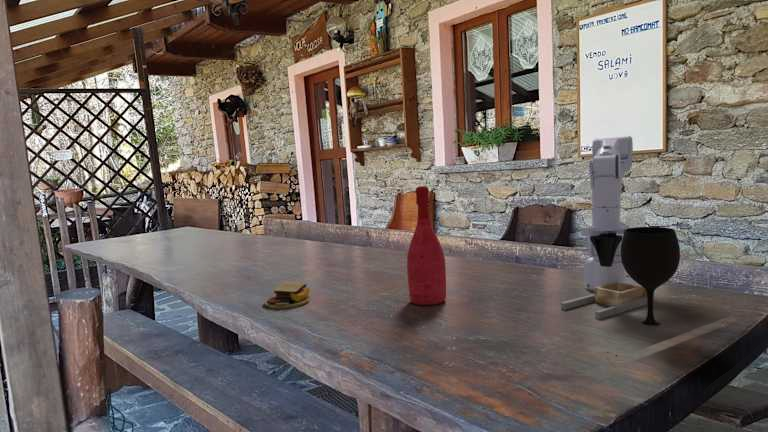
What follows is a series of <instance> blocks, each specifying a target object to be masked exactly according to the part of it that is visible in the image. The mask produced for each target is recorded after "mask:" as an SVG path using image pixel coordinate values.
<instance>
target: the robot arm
mask: <svg viewBox="0 0 768 432" xmlns="http://www.w3.org/2000/svg"><path fill="white" fill-rule="evenodd" d="M591 145H592V146H591V149H592V158H589V164H588V171H589V172H588V174H589V180H590V188H591V203H592V204H591V208H592V210H591V212H592V213H591V216H592V217H591V218H592V220H591V221H592V222H591V223H592V226H587V227H585V226H584V227H581V229H580V236H581V237H587V254H588V255H589V256H590V257H589V258H587V260H586V261H585V264H584V265H583V266H584V268H583V276H584V277H583V278H584V284H583V285H584V286H583V287H584V289H586V290H591V291H594V288H595V287H598V286H602V285H606V284H610V283H614V282H620V283H625V284H627V272H626V271H625V269H624V267H623V264H622V260H621V244H622V239H623V235H624V232H625V230H626V229H628V228H630V225H628V224H626V223H623V222H622V221H621V199H622V195H621V194H622V181H623V179H624V176H625V174H626V173H627V172H629V171H631V170H632V166H633V152H634V151H633V149H634V146H633V145H634V143H633V137H632V136H631V135H627V136H618V137H603V138H597V137H596V138H595V137H594V139H593V140H592V144H591Z"/></svg>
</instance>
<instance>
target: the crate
mask: <svg viewBox="0 0 768 432" xmlns="http://www.w3.org/2000/svg"><path fill="white" fill-rule="evenodd" d="M593 292H594V293H593V294H594V299H595V302H594V303H596V304H601V305H605V306H609V307H612V306H615V305H618V304H622V303H625V302H629V301H632V300H635V299H639V298H642V297H644V287H642V286H641V285H634V284H629V283H626V284H625V283H620V282H614V283H610V284H606V285H602V286H598V287H595V288H594V290H593Z"/></svg>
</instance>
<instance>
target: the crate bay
mask: <svg viewBox="0 0 768 432" xmlns="http://www.w3.org/2000/svg"><path fill="white" fill-rule="evenodd" d="M590 303H596V302H595V299H594V293H591V294H589V295H588V294H587V295H585V296H581V297H577V298H573V299H569V300H567V301H566V300H565V301H563V302H560V308H561V310H563V311H564V310H565V311H566V310H570V309H573V308H576V307H577V308H578V307H581V306H584V305H586V304H590ZM653 303H655V294H654V295H653ZM646 305H647V306H648V303H647V293H646V290H645V288H644V297H642V298H639V299H635V300H632V301H629V302H625V303H622V304H618V305H615V306H609V307H606V308H602V309H599V310H595V312H594V315H595V319H598V320H601V319H605V318H608V317H611V316H613V315H618V314H620V313H624V312H627V311H631V310H633V309H636V308H640V307H643V306H646Z"/></svg>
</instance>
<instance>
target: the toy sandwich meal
mask: <svg viewBox="0 0 768 432" xmlns="http://www.w3.org/2000/svg"><path fill="white" fill-rule="evenodd" d="M273 293H274V294H275V296H271V297H268V298H266V299H265V300H264V301H263V304H264V305H265V306H266V307H267V308H269V307H270V309H275V308H276V309H277V310H280V309H281V310H282V309H291V308H292V309H293V308H296V307H300V306H303V305H305V304H307V303H308V302H309V301H310V300H311V296H310V287H307V283H306V282H304V281H298V280H297V281H296V280H295V281H293V280H291V281H290V280H289V281H284V282H282V284H280V285H279V286H278V287H276V288H275V289H274V290H273Z"/></svg>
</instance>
